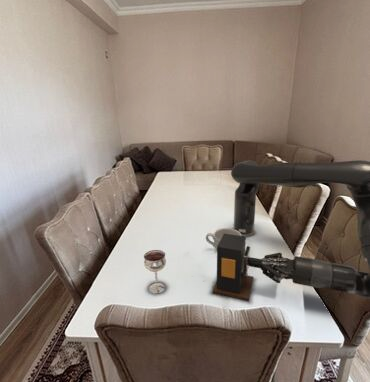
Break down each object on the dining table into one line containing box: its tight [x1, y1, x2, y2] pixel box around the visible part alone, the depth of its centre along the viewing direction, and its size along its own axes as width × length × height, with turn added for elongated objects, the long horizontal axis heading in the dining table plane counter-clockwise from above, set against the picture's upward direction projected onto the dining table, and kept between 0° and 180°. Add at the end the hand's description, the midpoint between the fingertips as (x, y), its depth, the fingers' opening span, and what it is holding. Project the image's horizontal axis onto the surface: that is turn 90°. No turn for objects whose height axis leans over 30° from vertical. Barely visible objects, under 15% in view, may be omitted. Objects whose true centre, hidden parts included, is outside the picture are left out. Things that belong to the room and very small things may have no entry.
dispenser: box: [212, 233, 254, 302], centre depth 78 cm, size 11×11×16 cm
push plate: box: [243, 246, 251, 277], centre depth 76 cm, size 6×1×7 cm, turn 159°
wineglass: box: [143, 249, 167, 294], centre depth 79 cm, size 7×7×12 cm
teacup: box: [205, 227, 242, 252], centre depth 100 cm, size 14×11×8 cm
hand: (248, 261), depth 76 cm, fingers closed
